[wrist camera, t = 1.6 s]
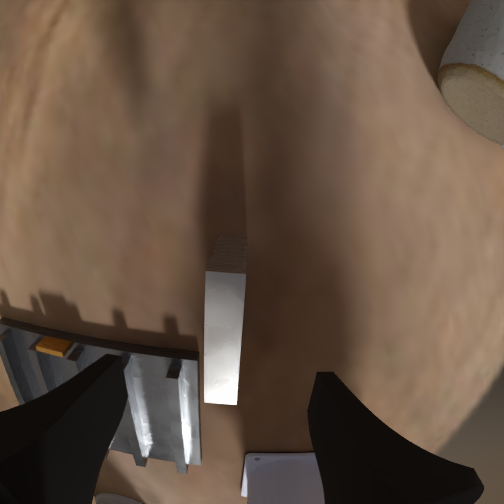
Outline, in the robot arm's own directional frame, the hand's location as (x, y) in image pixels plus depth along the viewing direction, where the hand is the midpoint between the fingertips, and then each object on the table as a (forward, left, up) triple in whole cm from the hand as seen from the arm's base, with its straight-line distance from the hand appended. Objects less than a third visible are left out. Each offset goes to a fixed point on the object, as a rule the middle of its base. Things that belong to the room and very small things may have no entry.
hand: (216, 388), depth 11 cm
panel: (0, 0, -9) cm, 9 cm away
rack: (+10, +11, -9) cm, 17 cm away
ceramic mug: (-16, -16, -9) cm, 24 cm away
